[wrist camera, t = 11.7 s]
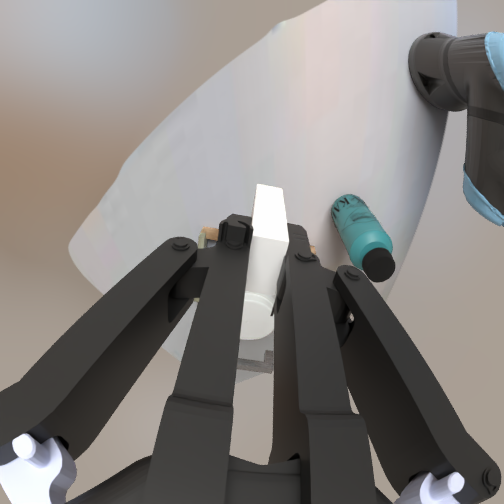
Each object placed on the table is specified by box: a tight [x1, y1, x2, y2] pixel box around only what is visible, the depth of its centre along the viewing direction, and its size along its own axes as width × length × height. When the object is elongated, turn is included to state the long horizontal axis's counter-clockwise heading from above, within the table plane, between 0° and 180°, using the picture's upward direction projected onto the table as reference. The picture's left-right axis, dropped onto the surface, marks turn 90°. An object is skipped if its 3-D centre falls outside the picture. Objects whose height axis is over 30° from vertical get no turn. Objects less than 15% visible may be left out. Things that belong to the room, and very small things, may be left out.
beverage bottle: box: [331, 194, 395, 282], centre depth 40 cm, size 6×7×20 cm
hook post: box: [237, 350, 273, 373], centre depth 53 cm, size 12×2×18 cm, turn 80°
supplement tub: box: [240, 288, 277, 340], centre depth 50 cm, size 10×10×15 cm
